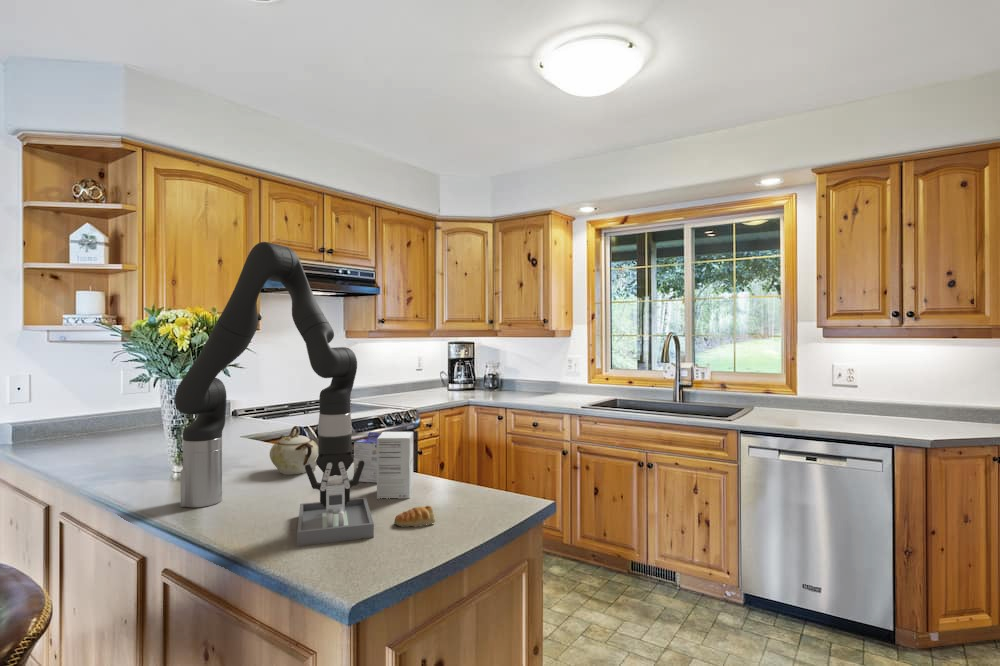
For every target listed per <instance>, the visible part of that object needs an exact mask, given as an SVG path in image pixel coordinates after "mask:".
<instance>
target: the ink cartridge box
mask: <svg viewBox="0 0 1000 666" xmlns="http://www.w3.org/2000/svg"><path fill="white" fill-rule="evenodd" d="M372 435H374V436H372ZM379 436H380V432H374V431H373V432H370V431H369V432H368V434H367V438H366V439H358V440H356V441H354V442H353V457H354V458H356V459H363V460H364V463H365V464H364V467H363V470H362V473H361V476H360V479H359V482H361V483H375V484H377V438H378V437H379ZM355 470H356V468H355V467H354V466H353V474H354V473H355ZM359 482H358V483H359Z"/></svg>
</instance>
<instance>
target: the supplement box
mask: <svg viewBox="0 0 1000 666" xmlns="http://www.w3.org/2000/svg"><path fill="white" fill-rule="evenodd" d="M413 490H414V431H382V432H381V434H379V437H378V438H377V483H376V499H378V500H381V499H382V498H386V499H385V500H387V499H388V498H389V499H390V498H398V499H411V495H412V493H413ZM380 498H381V499H380ZM389 499H388V500H389ZM382 500H383V499H382Z"/></svg>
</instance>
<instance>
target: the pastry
mask: <svg viewBox="0 0 1000 666" xmlns="http://www.w3.org/2000/svg"><path fill="white" fill-rule="evenodd" d="M432 523H436V518H435V513H434V509H433V507H432V506H431V505H426V506H418V507H417V506H415V507H412V508H411V509H408V510H407V511H403V512H401V513H399V514H397V515H396V516H395V518H394V524H395V525H396V526H398V527H400V526H401V528H410V527H409V526H414V527H413V528H416V527H415V526H419V527H421V526H420V525H426V524H432ZM432 525H433V524H432ZM405 526H407V527H405Z"/></svg>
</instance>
